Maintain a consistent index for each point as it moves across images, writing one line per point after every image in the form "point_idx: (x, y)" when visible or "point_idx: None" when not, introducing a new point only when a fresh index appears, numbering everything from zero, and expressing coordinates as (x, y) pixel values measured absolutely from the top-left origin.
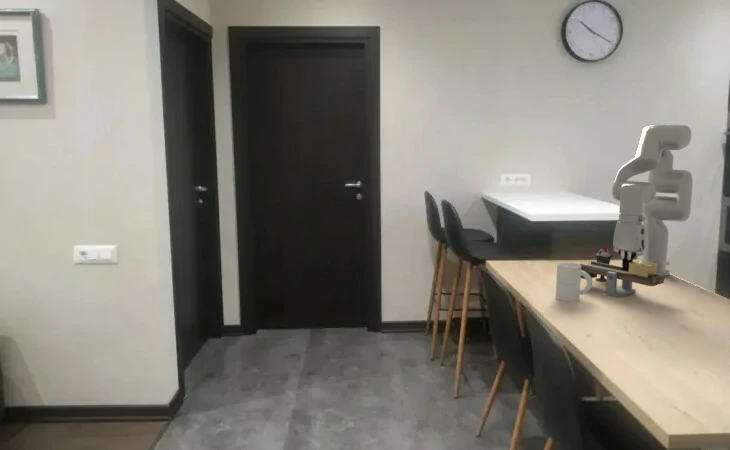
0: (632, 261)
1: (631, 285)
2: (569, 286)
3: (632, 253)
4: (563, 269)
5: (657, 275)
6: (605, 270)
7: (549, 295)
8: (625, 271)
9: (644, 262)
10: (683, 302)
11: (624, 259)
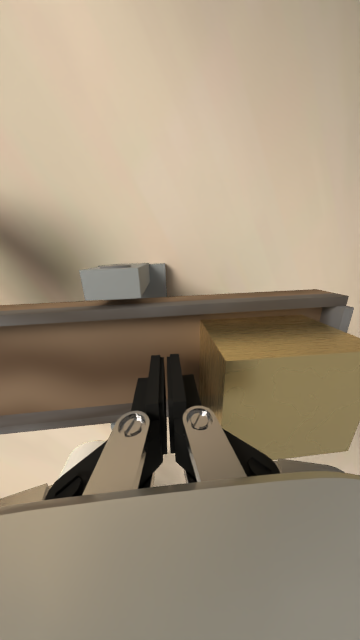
0: (200, 404)
1: (147, 268)
2: None
3: (207, 472)
4: None
5: (311, 307)
6: (82, 421)
7: (57, 475)
8: (129, 325)
9: (292, 386)
10: (330, 252)
11: (162, 461)
